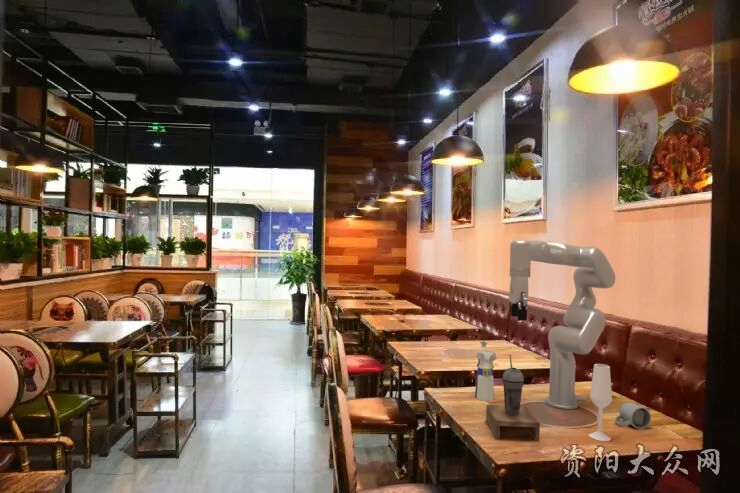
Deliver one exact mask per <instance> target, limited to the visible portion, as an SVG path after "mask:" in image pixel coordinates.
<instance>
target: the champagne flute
mask: <svg viewBox="0 0 740 493" xmlns="http://www.w3.org/2000/svg"><path fill="white" fill-rule="evenodd" d="M589 398H590V400H591V402H592V403H593V404H594V406H595V407H597V408H598V416H597V417H598V420H597V421H598V422H597V423H598V425H597V426H598V427H597V431H593V432H591V433H589V434H588V436H589V437H590V438H591V439H594V440H596V441H600V442H608V441H611V440H612V438H611V437H610V436H609V435H608V434H606V433H604V431H603V409H605V408H607V407H608V406H610V404H611V403H612V401H613V395H612V380H611V366H609V365H608V364H603V363H595V364H594V365H593V371H592V379H591V386H590V394H589Z"/></svg>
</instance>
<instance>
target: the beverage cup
mask: <svg viewBox="0 0 740 493" xmlns="http://www.w3.org/2000/svg"><path fill="white" fill-rule="evenodd" d="M512 362H513V361H512V354H509V365H510V367H509V368H507V369H505V371H504V372H503V374H502V378H501V379H502V385H503V396H504V397H503V398H504V399H503V400H504V406H505V413H506V414H508V415H513V416H516V415H519V410H520V406H521V402H522V400H521V399H522V394H523V393H522V392H523V387H524V382H525V379H524V374H523V373H522V371H521V370H520V369H518V368H516V367H513V363H512Z"/></svg>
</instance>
